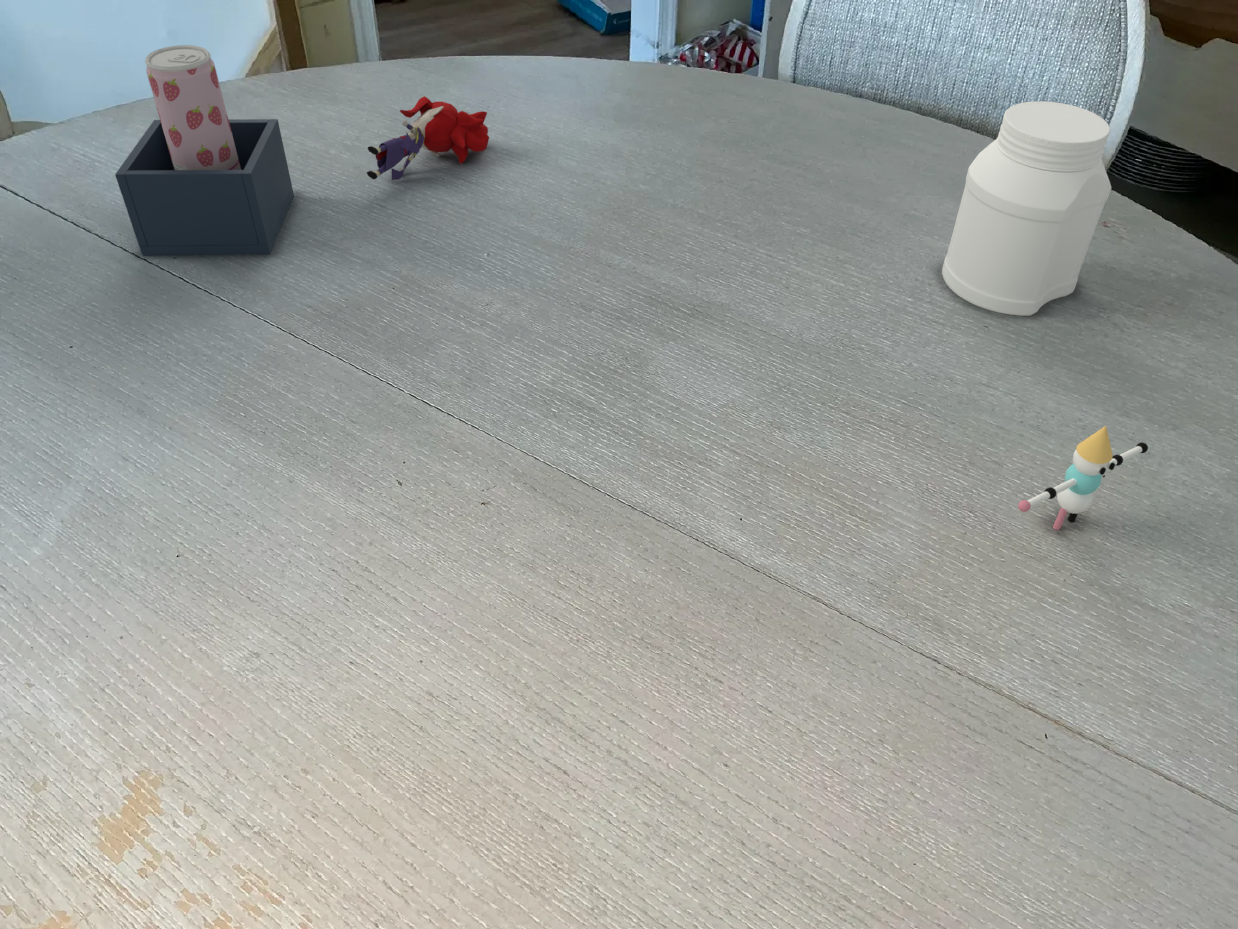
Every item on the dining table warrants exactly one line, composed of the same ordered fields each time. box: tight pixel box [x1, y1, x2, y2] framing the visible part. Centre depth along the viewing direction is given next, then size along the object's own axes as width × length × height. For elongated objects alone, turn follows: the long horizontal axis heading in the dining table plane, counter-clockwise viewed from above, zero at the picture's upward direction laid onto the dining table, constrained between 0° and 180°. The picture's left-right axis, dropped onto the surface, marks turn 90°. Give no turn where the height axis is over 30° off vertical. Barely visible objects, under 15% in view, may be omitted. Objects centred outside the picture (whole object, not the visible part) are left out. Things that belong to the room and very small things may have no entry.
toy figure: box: [1017, 425, 1149, 531], centre depth 66 cm, size 12×2×9 cm, turn 121°
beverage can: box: [144, 44, 241, 170], centre depth 92 cm, size 6×6×15 cm
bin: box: [114, 118, 295, 257], centre depth 95 cm, size 12×12×8 cm
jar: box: [941, 100, 1112, 317], centre depth 87 cm, size 12×10×15 cm
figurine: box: [366, 95, 490, 181], centre depth 105 cm, size 6×8×15 cm
